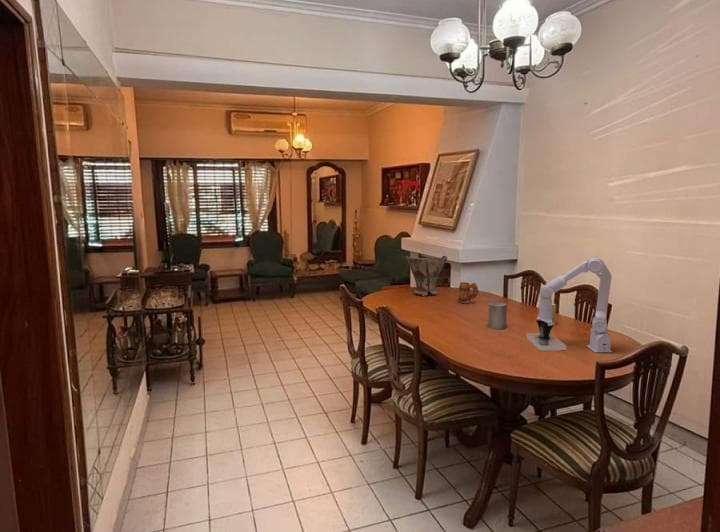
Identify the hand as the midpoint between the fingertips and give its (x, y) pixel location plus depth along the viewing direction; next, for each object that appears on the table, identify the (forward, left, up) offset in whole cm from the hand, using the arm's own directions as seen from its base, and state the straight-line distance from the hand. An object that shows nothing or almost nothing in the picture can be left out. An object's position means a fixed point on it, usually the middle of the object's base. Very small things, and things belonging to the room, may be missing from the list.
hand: (544, 335), depth 227 cm
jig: (-2, 0, -4) cm, 4 cm away
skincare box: (+32, -14, -4) cm, 35 cm away
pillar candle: (+28, +16, -4) cm, 32 cm away
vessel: (+115, +46, -4) cm, 124 cm away
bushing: (0, 0, -2) cm, 3 cm away
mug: (+85, +21, -4) cm, 88 cm away
